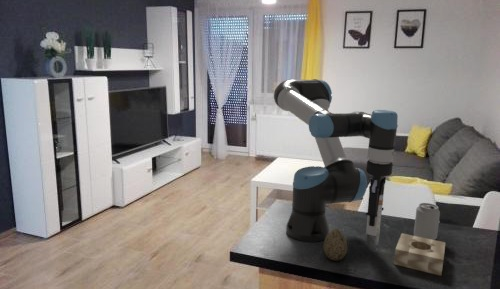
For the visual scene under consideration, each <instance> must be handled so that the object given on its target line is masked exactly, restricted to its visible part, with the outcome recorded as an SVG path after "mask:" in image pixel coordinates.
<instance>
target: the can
mask: <svg viewBox="0 0 500 289" xmlns="http://www.w3.org/2000/svg"><path fill="white" fill-rule="evenodd" d="M440 215H441V212H440V210H439V206H438V205H436V204H433V203H430V202H429V203H428V202H421V203H419V204H418V206H417V207H416V211H415V219H414V227H413V236H417V237H422V238H427V239H432V240H437V239H438V231H439V224H440V217H441V216H440Z"/></svg>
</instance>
